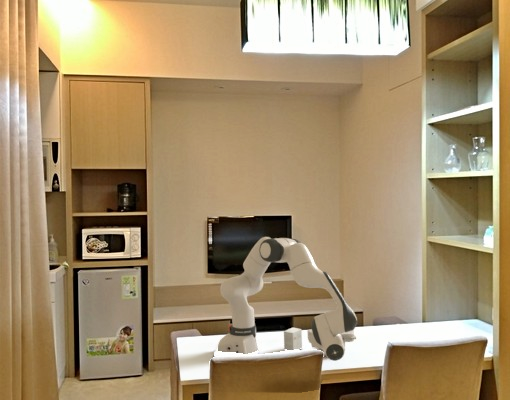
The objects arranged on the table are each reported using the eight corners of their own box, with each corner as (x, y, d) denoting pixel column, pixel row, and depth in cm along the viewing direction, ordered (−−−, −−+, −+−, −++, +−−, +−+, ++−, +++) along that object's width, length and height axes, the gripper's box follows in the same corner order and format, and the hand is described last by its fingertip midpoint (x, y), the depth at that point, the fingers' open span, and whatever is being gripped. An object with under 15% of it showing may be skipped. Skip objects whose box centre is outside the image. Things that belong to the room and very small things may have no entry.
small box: (293, 347, 235) (292, 327, 235) (302, 349, 231) (301, 328, 231) (284, 352, 229) (283, 331, 229) (293, 354, 225) (292, 333, 225)
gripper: (356, 331, 194) (352, 322, 208) (307, 332, 196) (307, 323, 210) (357, 346, 194) (353, 336, 208) (308, 347, 196) (307, 336, 210)
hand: (329, 329), depth 209 cm, fingers open, 8 cm apart
